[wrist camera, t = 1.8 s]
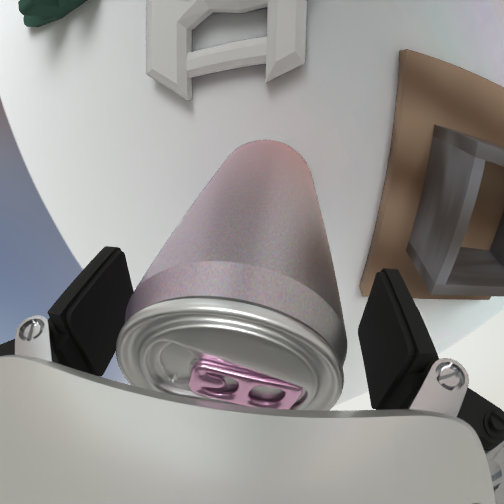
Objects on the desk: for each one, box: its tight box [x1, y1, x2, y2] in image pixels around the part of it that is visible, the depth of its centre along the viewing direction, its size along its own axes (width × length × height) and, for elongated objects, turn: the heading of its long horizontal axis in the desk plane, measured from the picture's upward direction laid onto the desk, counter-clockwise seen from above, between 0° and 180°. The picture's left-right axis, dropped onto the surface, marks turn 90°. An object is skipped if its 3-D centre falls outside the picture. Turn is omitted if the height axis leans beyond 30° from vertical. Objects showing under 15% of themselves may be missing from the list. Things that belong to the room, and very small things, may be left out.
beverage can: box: [116, 140, 347, 411], centre depth 13 cm, size 6×6×15 cm
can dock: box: [360, 49, 504, 300], centre depth 15 cm, size 18×14×6 cm
